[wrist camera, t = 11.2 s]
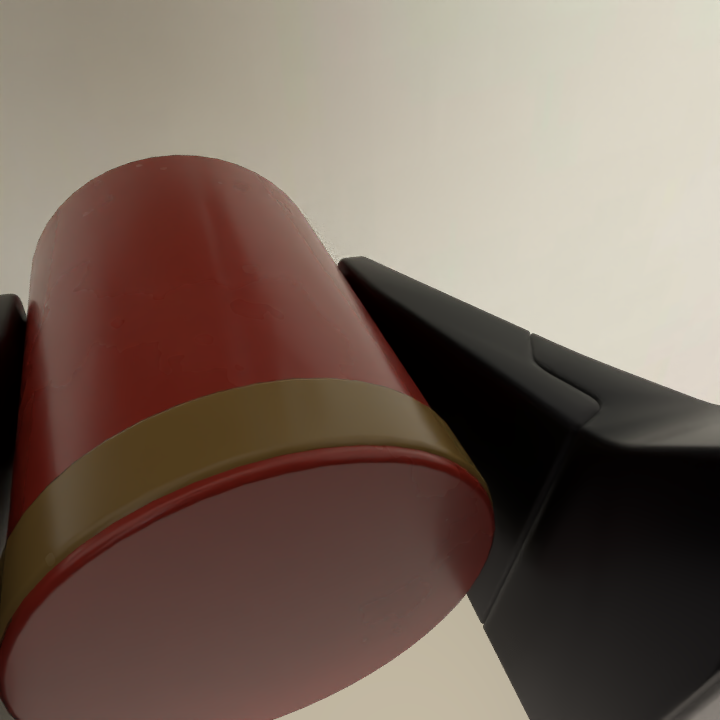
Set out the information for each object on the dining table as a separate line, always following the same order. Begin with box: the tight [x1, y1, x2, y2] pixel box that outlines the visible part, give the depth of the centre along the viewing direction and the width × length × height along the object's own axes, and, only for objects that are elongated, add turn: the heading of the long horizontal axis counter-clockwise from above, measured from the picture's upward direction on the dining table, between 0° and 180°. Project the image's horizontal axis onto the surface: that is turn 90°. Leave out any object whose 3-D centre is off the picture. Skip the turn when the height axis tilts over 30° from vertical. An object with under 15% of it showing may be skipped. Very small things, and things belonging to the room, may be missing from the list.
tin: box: [0, 155, 495, 720], centre depth 7 cm, size 5×5×6 cm
